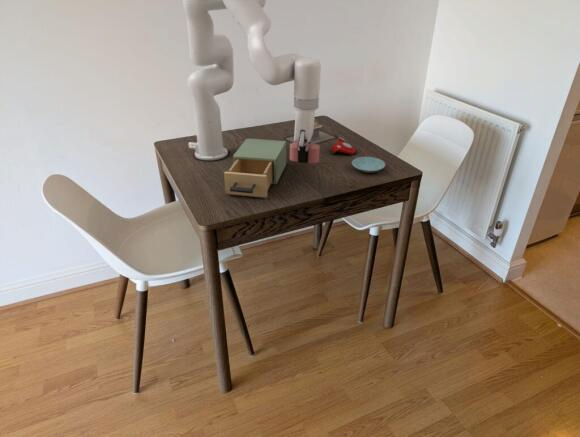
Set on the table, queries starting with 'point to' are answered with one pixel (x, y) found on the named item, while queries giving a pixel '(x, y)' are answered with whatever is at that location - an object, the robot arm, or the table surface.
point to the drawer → (249, 177)
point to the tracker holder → (343, 147)
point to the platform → (315, 135)
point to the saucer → (368, 164)
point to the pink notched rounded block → (312, 152)
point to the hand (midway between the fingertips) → (304, 158)
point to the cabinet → (264, 153)
